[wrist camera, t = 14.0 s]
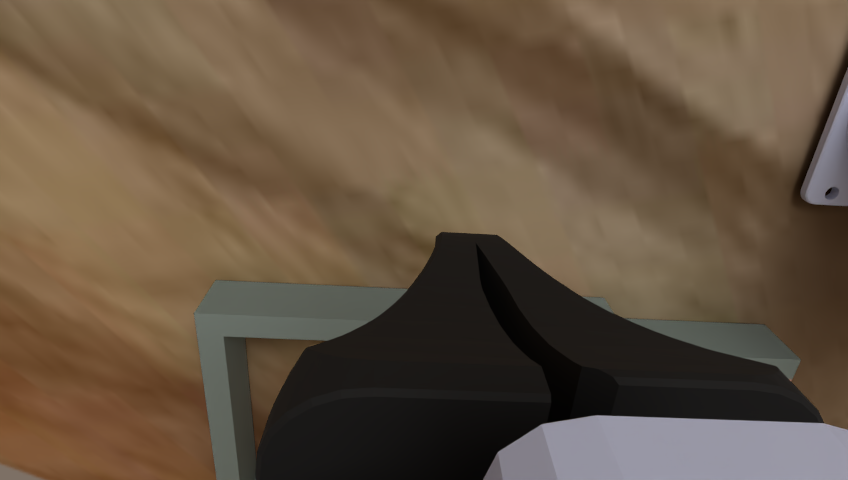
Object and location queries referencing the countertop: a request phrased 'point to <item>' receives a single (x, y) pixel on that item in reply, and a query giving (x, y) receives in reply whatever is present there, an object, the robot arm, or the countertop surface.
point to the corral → (346, 311)
